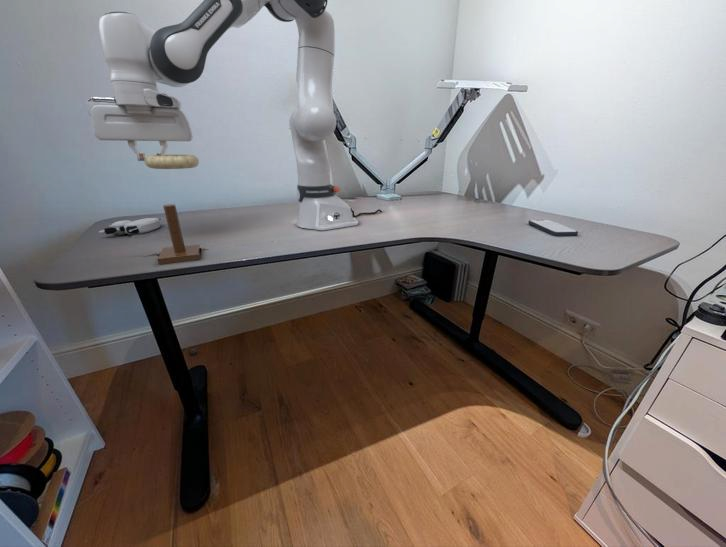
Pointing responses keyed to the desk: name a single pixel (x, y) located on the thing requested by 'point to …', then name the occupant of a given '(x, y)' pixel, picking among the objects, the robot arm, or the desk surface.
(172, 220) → the stand
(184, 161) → the cream ring
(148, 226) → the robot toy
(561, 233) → the phone case
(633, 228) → the desk surface
